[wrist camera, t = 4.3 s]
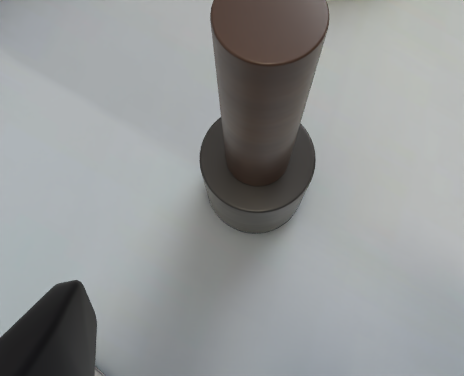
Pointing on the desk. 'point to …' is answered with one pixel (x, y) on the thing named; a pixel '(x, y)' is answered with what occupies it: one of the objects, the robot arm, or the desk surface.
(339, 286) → the desk surface
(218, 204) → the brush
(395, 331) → the desk surface
